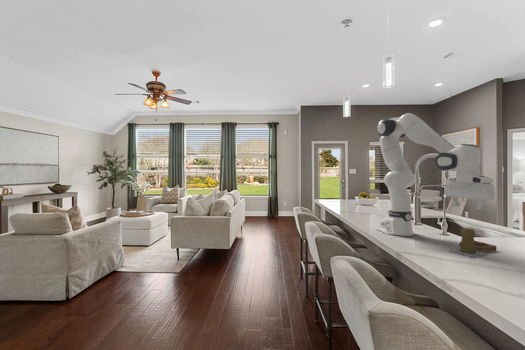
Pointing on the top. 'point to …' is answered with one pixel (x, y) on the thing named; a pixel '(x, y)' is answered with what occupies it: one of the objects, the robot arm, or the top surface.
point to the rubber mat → (467, 253)
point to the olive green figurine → (467, 241)
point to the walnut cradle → (483, 247)
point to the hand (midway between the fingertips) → (467, 207)
